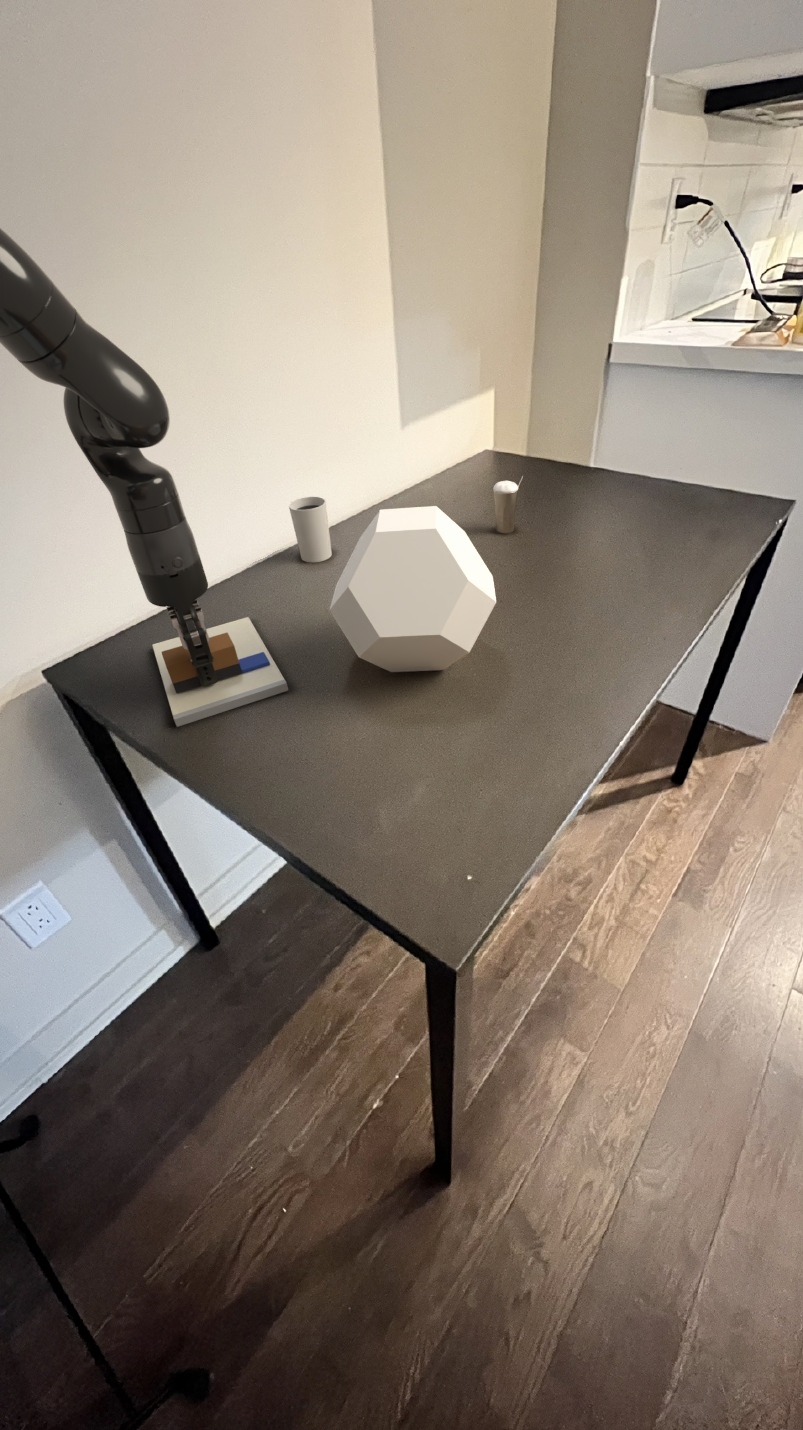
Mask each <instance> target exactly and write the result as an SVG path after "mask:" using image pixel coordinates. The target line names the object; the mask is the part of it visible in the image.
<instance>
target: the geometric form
mask: <svg viewBox="0 0 803 1430" xmlns="http://www.w3.org/2000/svg"><path fill="white" fill-rule="evenodd" d="M496 596H497V595H496V590H495V583H494V576H493V574H492V573H491V571H490V570H489V568H488V566H487V564H486V563H485V562H484V560H483V558H482V556H481V555H480V553H479V552H478V551H477V549H476V547H475V546H474V544H473V542H472V541H471V539H470V537H469V536H468V535H467V532H466V531H465V530H464V529H463V528H462V527H461V526H459V525H458V524H457V523H456V522H455V521H454V520H453V519H451V517H449V516H448V515H447V514H446V513H445V512H443V510H441V508H439V507H438V506H437V505H430V506H416V507H415V506H414V507H399V508H398V507H397V508H385V509H383V508H381V509H379V511H378V512H377V513H376V514H375V516H374V517H373V519H372V520H371V522H370V523H369V524H368V526H367V527H366V528H365V530H364V531H363V533H362V534H361V535H360V536H359V538H358V541H357V543H356V544H355V547H354V549H353V550H352V552H351V555H350V556H349V559H348V561H347V563H346V565H345V567H344V569H343V571H342V572H341V575H340V577H339V578H338V581H337V583H336V585H335V589H334V592H333V596H332V599H331V603H330V606H329V609H328V610H329V612H330V614H331V616H332V617H333V619H334V621H335V622H336V623H337V625H338V627H339V628H340V630H341V632H342V633H343V635H344V636H345V638H346V639H347V641H348V643H349V644H350V646H351V648H352V649H353V651H354V653H355V654H356V656H357V657H358V658H360V659H362V660H364V661H366V662H368V663H370V664H373V665H375V666H377V667H379V668H381V669H384V670H386V671H388V672H390V673H404V672H405V673H407V672H430V671H431V672H432V671H444V670H445V669H447V668H449V667H450V666H452V665H454V663H456V662H457V661H459V660H461V659H462V658H464V657H465V656H467V655H468V654H470V653H471V651H472V649H473V647H474V645H475V643H476V641H477V639H478V638H479V636H480V634H481V632H482V630H483V628H484V626H485V625H486V622H487V621H488V619H489V617H490V616H491V613H492V611H493V610H494V607H495V606H496V604H497V597H496Z"/></svg>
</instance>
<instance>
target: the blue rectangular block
mask: <svg viewBox="0 0 803 1430" xmlns="http://www.w3.org/2000/svg"><path fill="white" fill-rule="evenodd" d="M239 664H240V667H241V670H242V673H246V672H250V671H253V670H256V669H259V668H262V667H265V666H268V665H270V662H269V660H268V658H267V657H266V655H265V653H264V652H261V653H258V654H255V655H252V656H248V657H245V658H242V659H239Z"/></svg>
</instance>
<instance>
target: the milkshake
mask: <svg viewBox="0 0 803 1430" xmlns="http://www.w3.org/2000/svg"><path fill="white" fill-rule="evenodd" d="M523 478H524V475H522V476H521V479H520V481H519V483H518V484H517V483H516V482H514V481H510V480H502V481H498V482H496V483H495V484H494V486H493V488H492V490H493V500H494V515H495V519H494V520H495V531H496V532H497V533H500V534H510V533H512V532H513V531H514V528H515V522H516V521H515V519H516V512H517V511H516V510H517V509H516V508H517V502H518V494H519V487H520V484H521V482H522V481H523Z"/></svg>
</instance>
